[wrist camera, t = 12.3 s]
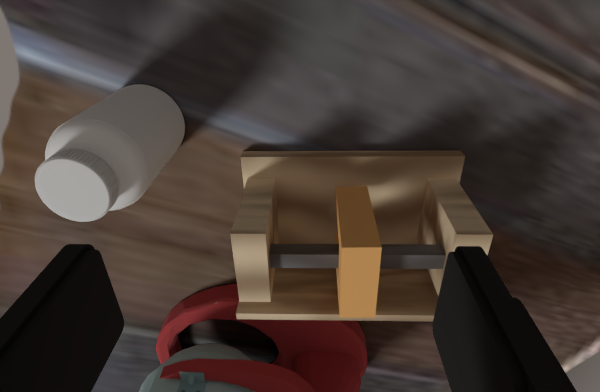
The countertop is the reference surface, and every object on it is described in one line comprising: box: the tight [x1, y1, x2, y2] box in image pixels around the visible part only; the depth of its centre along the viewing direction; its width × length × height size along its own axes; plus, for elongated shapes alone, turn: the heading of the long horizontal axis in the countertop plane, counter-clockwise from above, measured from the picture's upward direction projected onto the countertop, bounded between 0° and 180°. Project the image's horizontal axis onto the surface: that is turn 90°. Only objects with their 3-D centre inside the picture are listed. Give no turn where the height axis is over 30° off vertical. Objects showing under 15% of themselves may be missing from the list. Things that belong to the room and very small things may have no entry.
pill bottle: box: [35, 84, 185, 222], centre depth 34 cm, size 8×8×15 cm
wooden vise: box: [230, 150, 493, 321], centre depth 40 cm, size 13×23×12 cm, turn 91°
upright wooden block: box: [335, 186, 382, 318], centre depth 38 cm, size 8×3×10 cm, turn 2°
